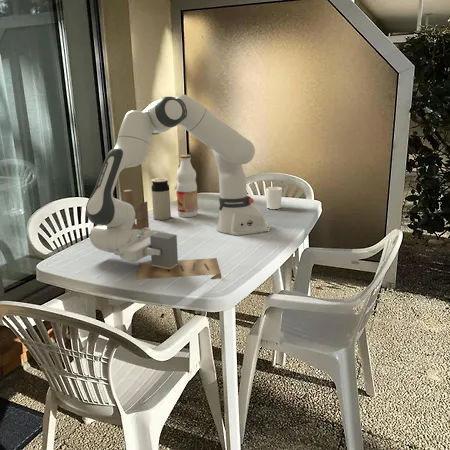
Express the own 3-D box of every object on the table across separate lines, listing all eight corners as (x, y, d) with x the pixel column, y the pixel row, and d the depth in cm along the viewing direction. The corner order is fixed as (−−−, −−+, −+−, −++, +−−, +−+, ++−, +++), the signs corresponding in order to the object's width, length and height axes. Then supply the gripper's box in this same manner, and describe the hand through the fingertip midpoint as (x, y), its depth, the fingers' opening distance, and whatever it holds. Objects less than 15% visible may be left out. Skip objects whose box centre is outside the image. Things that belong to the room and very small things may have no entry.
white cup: (282, 210, 221) (282, 190, 218) (266, 210, 222) (266, 190, 219) (280, 206, 229) (281, 186, 226) (265, 206, 229) (265, 186, 226)
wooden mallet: (143, 237, 185) (140, 193, 180) (124, 233, 191) (121, 190, 186) (149, 235, 188) (146, 192, 183) (131, 231, 194) (127, 189, 189)
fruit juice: (194, 218, 211) (192, 156, 203) (175, 217, 213) (172, 156, 205) (200, 212, 220) (198, 153, 212) (181, 211, 222) (178, 153, 214)
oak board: (216, 262, 158) (216, 257, 157) (221, 278, 144) (221, 273, 144) (139, 266, 155) (139, 262, 154) (137, 283, 141) (136, 279, 141)
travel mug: (169, 220, 209) (167, 181, 204) (152, 220, 209) (149, 181, 204) (171, 215, 216) (169, 177, 211) (155, 215, 217) (152, 177, 211)
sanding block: (151, 265, 148) (150, 235, 145) (160, 261, 152) (158, 232, 149) (169, 269, 145) (168, 238, 142) (177, 264, 148) (176, 234, 146)
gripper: (109, 243, 143) (145, 249, 136) (149, 226, 160) (183, 231, 154) (111, 262, 145) (146, 269, 138) (150, 243, 162) (184, 249, 156)
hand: (166, 249), depth 146 cm, fingers closed on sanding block, 4 cm apart
